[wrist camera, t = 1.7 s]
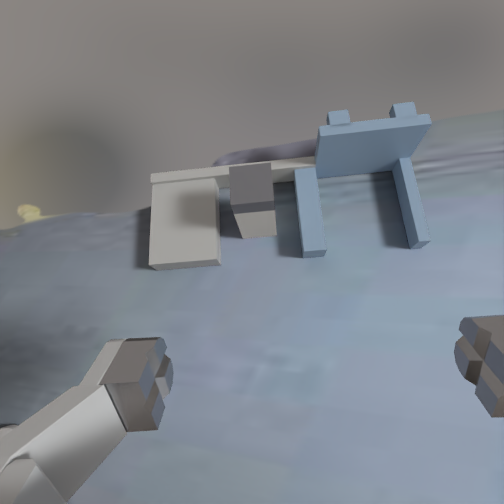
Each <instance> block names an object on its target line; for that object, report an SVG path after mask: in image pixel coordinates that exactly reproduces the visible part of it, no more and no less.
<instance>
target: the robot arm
mask: <svg viewBox="0 0 504 504" xmlns="http://www.w3.org/2000/svg"><path fill="white" fill-rule="evenodd" d="M459 330H460V332H461V333H462V334H463V336H462V337H461V338H460V339H459V340H458V341H457V342H456V344H455V349H454V355H455V361H456V364H457V366H458V369H459V371H460V372H461V374H462V375H463V377H464V378H465V379H466V380H468V381H469V382H471V383H473V384H474V385H476V389H475V394H476V396H477V397H478V399H479V400H480V401H481V403H482V404H483V406H484V407H485V409H486V410H487V412H488V413H489V414H490V416H491V417H504V315H492V316H478V317H464V318H463V320H462V321H461V322H460V326H459ZM166 348H167V346H166V344H165V341H164V339H163V338H161V337H152V338H128V339H111V340H110V341H108V342H106V344H105V345H104V347H103V348H102V350H101V352H100V353H99V355H98V356H97V358H96V359H95V361H94V363H93V364H92V366H91V367H90V369H89V370H88V372H87V374H86V375H85V377H84V378H83V380H82V381H81V383H80V384H79V386H73V387H72V388H70V389H69V390H67V391H66V392H65V393H63V394H62V395H60V396H59V397H58V398H56V399H55V400H53V401H52V402H51V403H49V404H48V405H46V406H45V407H44V408H42V409H41V410H39V411H38V412H37V413H35V414H34V415H33V416H31V417H30V418H28V419H27V420H26V421H24V422H23V423H21V424H20V425H19V426H18V425H8V426H5V427H1V428H0V504H67V501H68V500H69V499H70V498H71V497H72V496H73V495H74V494H75V492H76V491H77V490H78V489H79V488H80V487H81V486H82V484H83V483H84V482H85V481H86V480H87V479H88V478H89V477H90V475H91V474H92V473H93V472H94V471H95V470H96V469H97V467H98V466H99V465H100V464H101V463H102V462H103V461H104V460H105V458H106V457H107V456H108V455H109V454H110V453H111V452H112V450H113V449H114V448H115V447H116V446H117V445H118V444H119V443H120V441H121V440H122V439H123V438H124V437H125V436H126V435H127V432H136V431H150V430H158V428H159V425H160V422H161V419H162V416H163V412H164V409H165V405H164V402H163V399H164V398H165V397H166V396H167V395H168V394H169V393H170V390H171V387H172V383H173V365H172V362H171V359H170V358H169V357H167V356H166V355H165V351H166Z"/></svg>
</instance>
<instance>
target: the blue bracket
mask: <svg viewBox="0 0 504 504" xmlns="http://www.w3.org/2000/svg"><path fill="white" fill-rule="evenodd" d="M389 114H390V118H386V119H377V120H369V121H360V122H352V123H351V122H350V117H349V112H348V110H341V111H332V112H328V115H327V125H326V126H319V129H318V136H317V143H316V149H315V163H316V167H315V168H306V169H296V170H294V186H295V195H296V204H297V213H298V221H299V230H300V239H301V248H302V256H303V258H311V257H323V256H324V255H325V253H326V251H327V247H326V240H325V232H324V225H323V218H322V211H321V204H320V197H319V190H318V183H317V178H326V177H336V176H346V175H355V174H365V173H375V172H384V171H392V173H393V177H394V181H395V186H396V190H397V195H398V199H399V203H400V208H401V212H402V217H403V221H404V225H405V230H406V234H407V239H408V243H409V247H410V249H417V248H422V247H423V246H425V245H426V244H427V243H429V242H430V241H431V238H430V234H429V230H428V226H427V222H426V218H425V214H424V210H423V206H422V202H421V198H420V194H419V190H418V186H417V183H416V179H415V175H414V171H413V167H412V163H411V159H410V157H411V155H412V154H413V152H414V151H415V149H416V148H417V146H418V144H419V143H420V141H421V140H422V138H423V137H424V135H425V134H426V132H427V130H428V129H429V127H430V126H431V124H432V123H431V119H430V116H429V114H421V115H417V112H416V109H415V105H414V102H408V103H399V104H393V105H392V108H391V110H390V112H389Z"/></svg>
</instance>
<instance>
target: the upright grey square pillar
mask: <svg viewBox="0 0 504 504" xmlns="http://www.w3.org/2000/svg"><path fill="white" fill-rule="evenodd" d="M229 183H230V205H231V208H232V211H233V213H234V216H235V219H236V221H237V224H238V227H239V230H240V232H241V235H242V238H243V239H247V238H258V237H269V236H277V232H276V218H275V203H274V192H273V181H272V170H271V162H270V163H261V164H252V165H242V166H233V167H229Z"/></svg>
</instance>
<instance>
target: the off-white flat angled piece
mask: <svg viewBox="0 0 504 504" xmlns="http://www.w3.org/2000/svg"><path fill="white" fill-rule="evenodd" d="M270 162H271V170H272V181H273V183H278V182H288V181H294V170H296V169H306V168H315V167H316V163H315V156H310V157H301V158H292V159H282V160H273V161H264V162H255V163H246V164H236V165H227V166H218V167H209V168H200V169H191V170H181V171H172V172H163V173H154V174H151V184H152V203H151V225H150V247H149V265H150V266H151V267H153V268H154V269H156V270H157V271H158V270H170V269H181V268H193V267H205V266H217V265H221V245H220V211H219V189H220V188H230V183H229V167H233V166H242V165H252V164H261V163H270Z"/></svg>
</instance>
